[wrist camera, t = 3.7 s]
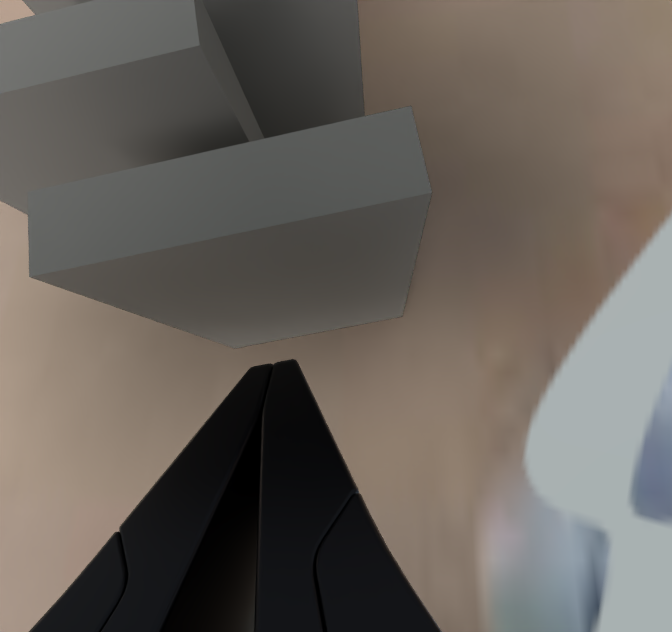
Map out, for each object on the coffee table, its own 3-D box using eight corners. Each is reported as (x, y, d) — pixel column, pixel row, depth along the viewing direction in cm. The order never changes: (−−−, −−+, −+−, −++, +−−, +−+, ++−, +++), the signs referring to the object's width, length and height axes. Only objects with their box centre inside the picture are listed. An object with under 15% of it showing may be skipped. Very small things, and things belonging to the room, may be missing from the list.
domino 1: (302, 245, 16) (199, 45, 7) (146, 277, 16) (-140, 127, 7) (296, 210, 16) (190, -25, 7) (144, 242, 16) (-135, 58, 8)
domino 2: (366, 148, 16) (347, -156, 7) (213, 181, 16) (21, -68, 8) (359, 115, 16) (333, -214, 8) (209, 149, 17) (20, -126, 8)
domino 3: (402, 316, 15) (432, 192, 6) (234, 348, 15) (29, 276, 6) (394, 278, 15) (410, 105, 6) (229, 310, 15) (27, 191, 7)
